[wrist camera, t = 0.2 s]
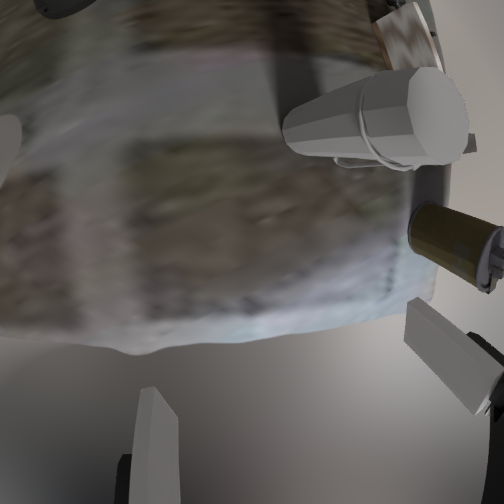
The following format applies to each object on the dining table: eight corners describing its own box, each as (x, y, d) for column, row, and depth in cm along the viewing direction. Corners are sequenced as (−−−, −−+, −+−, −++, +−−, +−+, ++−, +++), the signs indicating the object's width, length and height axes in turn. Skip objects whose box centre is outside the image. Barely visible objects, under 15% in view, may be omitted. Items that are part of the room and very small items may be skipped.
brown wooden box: (371, 24, 30) (412, 1, 19) (410, 30, 31) (451, 15, 20) (406, 153, 39) (456, 158, 28) (441, 147, 40) (487, 153, 29)
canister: (404, 211, 42) (494, 247, 24) (440, 195, 43) (523, 222, 24) (409, 264, 46) (484, 314, 28) (443, 245, 47) (516, 283, 28)
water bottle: (267, 123, 34) (377, 77, 11) (312, 97, 34) (445, 48, 11) (303, 178, 38) (436, 218, 14) (344, 150, 37) (489, 164, 14)
